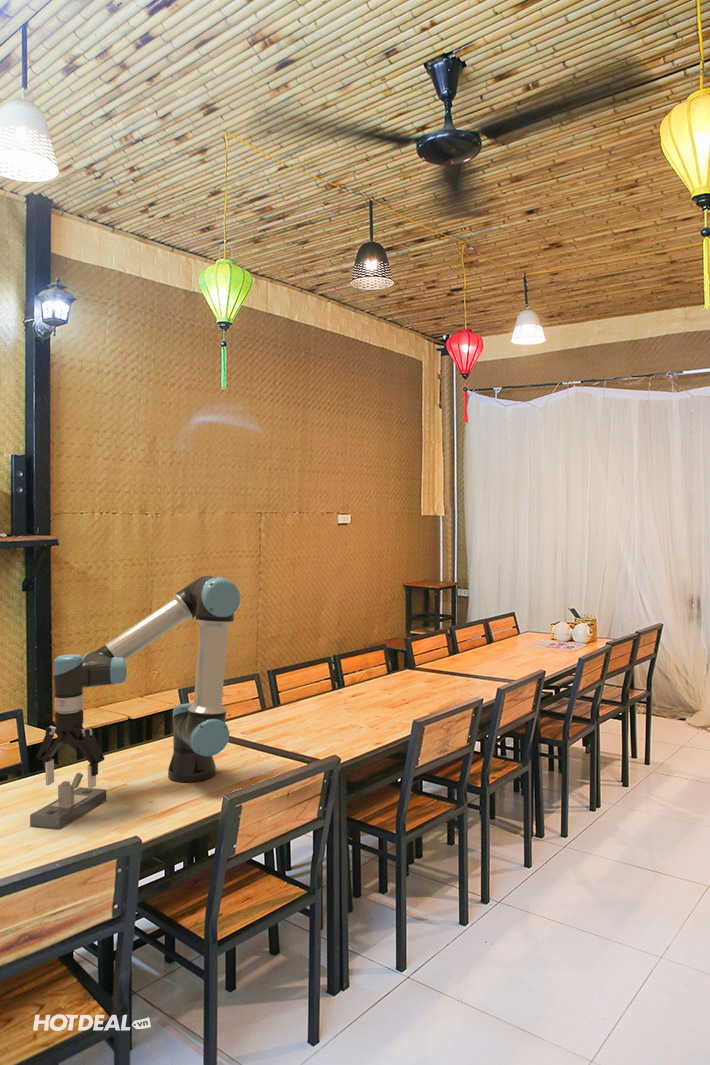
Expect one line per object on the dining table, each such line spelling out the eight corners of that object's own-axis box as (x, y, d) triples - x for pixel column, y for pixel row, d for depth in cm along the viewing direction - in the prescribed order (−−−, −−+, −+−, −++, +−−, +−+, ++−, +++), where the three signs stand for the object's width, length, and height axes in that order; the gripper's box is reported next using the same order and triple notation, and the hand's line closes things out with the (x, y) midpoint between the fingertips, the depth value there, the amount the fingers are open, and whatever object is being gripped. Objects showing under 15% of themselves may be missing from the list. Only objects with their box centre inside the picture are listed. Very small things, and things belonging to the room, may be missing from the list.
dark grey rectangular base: (106, 799, 218) (106, 788, 218) (59, 828, 197) (59, 816, 197) (79, 797, 221) (79, 786, 221) (30, 825, 199) (30, 814, 199)
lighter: (57, 800, 209) (57, 772, 209) (61, 798, 211) (61, 770, 211) (80, 802, 207) (79, 774, 207) (83, 800, 209) (83, 772, 209)
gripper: (22, 711, 208) (23, 787, 208) (100, 715, 202) (102, 793, 202) (39, 705, 216) (41, 778, 216) (115, 708, 209) (117, 783, 210)
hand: (70, 785), depth 209 cm, fingers open, 13 cm apart
